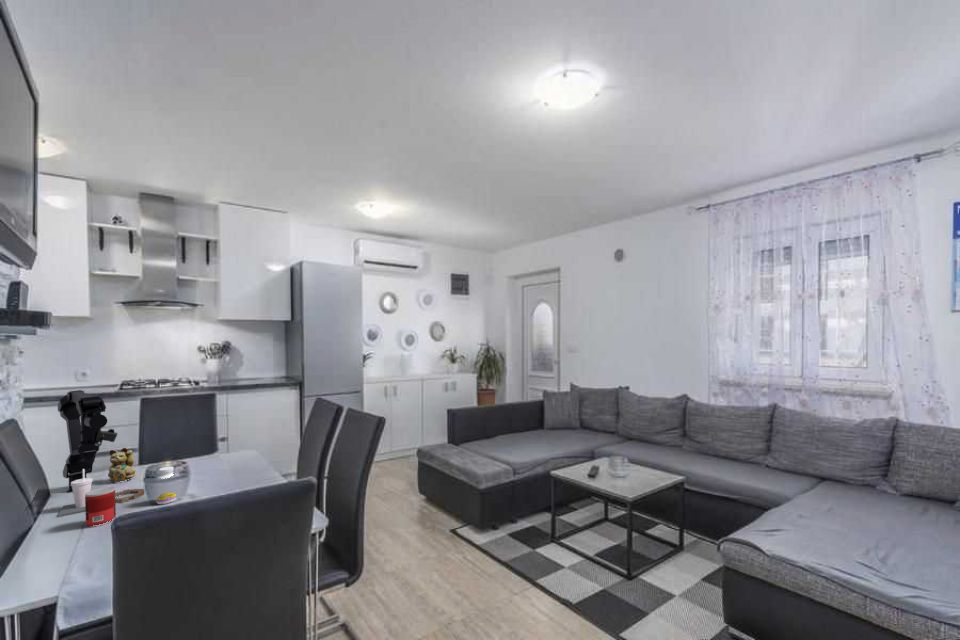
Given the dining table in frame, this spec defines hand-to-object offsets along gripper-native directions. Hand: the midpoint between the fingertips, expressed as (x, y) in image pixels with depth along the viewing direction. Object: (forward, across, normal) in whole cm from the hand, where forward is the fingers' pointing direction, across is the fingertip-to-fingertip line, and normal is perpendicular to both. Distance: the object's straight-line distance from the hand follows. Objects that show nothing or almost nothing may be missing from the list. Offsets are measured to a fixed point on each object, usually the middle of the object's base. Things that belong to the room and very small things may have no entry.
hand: (91, 464), depth 179 cm
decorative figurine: (+13, +18, -9) cm, 24 cm away
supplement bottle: (+13, -30, -24) cm, 41 cm away
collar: (+13, -11, -11) cm, 20 cm away
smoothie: (+13, -13, +2) cm, 18 cm away
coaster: (+13, -13, +2) cm, 18 cm away
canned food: (+13, -37, -5) cm, 40 cm away
